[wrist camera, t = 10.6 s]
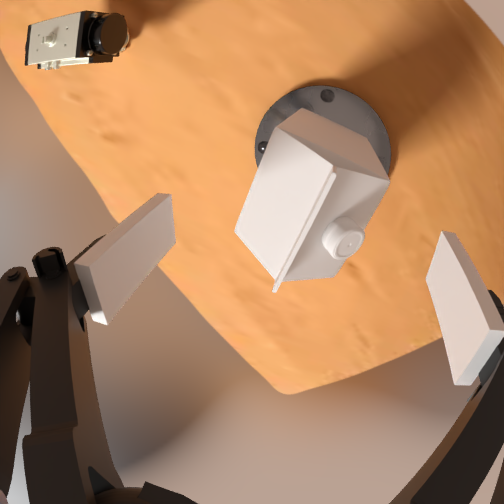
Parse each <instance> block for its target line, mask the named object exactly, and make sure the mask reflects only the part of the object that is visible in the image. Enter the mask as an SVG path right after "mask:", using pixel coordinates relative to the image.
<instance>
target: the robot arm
mask: <svg viewBox="0 0 504 504" xmlns="http://www.w3.org/2000/svg"><path fill="white" fill-rule="evenodd" d="M175 243H176V239H175V229H174V219H173V208H172V197H171V194H162V193H158V194H156V195H155V196H154V197H152V198H151V199H150V200H148V201H147V202H146V203H145V204H143V205H142V206H141V207H140V208H138V209H137V210H136V211H134V212H133V213H132V214H131V215H130V216H128V217H127V218H126V219H125V220H123V221H122V222H121V223H120V224H118V225H117V226H116V227H115V228H114V229H112V230H111V231H110V232H109V233H108V234H107V235H104V236H102V237H100V238H98V239H96V240H95V241H93V242H92V243H91V244H90V245H89V247H86V248H85V249H84V250H83V252H81V253H79V255H77V256H76V257H75V258H74V259H73V260H72V261H70V262H69V263H68V264H67V265H66V262H65V259H64V256H63V252H62V249H60V248H59V247H50V248H46V249H43V250H41V251H40V252H38V253H37V254H36V255H35V256H34V257H33V259H32V262H33V265H34V268H35V270H36V273H37V276H38V277H29V276H28V273H27V270H26V268H24V267H13V268H12V269H9V270H8V271H7V272H6V273H4V275H3V276H2V277H1V279H0V504H8V502H7V499H6V498H7V495H8V492H9V488H10V484H11V480H12V474H13V467H14V460H15V452H16V446H17V439H18V433H19V427H20V422H21V417H22V412H23V407H24V403H25V398H26V394H27V390H28V385H29V381H30V406H31V407H30V408H31V427H32V429H31V434H30V435H25V436H24V438H23V443H22V449H23V459H24V469H25V476H26V484H27V490H28V496H29V502H30V504H197V503H196V502H194V501H192V500H191V499H189V498H187V497H185V496H184V495H181V494H178V493H175V492H173V491H170V490H167V489H164V488H161V487H158V486H156V485H153V484H151V483H148V482H145V483H144V486H143V488H139V487H124V485H123V483H122V481H121V479H120V477H119V475H118V473H117V471H116V470H115V467H114V465H113V462H112V458H111V454H110V451H109V447H108V443H107V439H106V435H105V431H104V427H103V422H102V418H101V413H100V408H99V403H98V399H97V393H96V388H95V382H94V376H93V370H92V363H91V356H90V349H89V341H88V332H87V323H86V320H85V317H84V315H85V313H86V312H87V311H88V310H90V313H91V316H92V318H93V321H96V322H99V323H102V324H105V325H108V324H109V323H110V322H111V320H112V319H113V318H114V317H115V315H116V314H117V313H118V312H119V310H120V309H121V308H122V307H123V305H124V304H125V303H126V302H127V300H128V299H129V298H130V297H131V295H132V294H133V293H134V292H135V291H136V289H137V288H138V287H139V286H140V284H141V283H142V282H143V281H144V280H145V278H146V277H147V276H148V274H149V273H150V272H151V271H152V270H153V269H154V268H155V266H156V265H157V264H158V263H159V262H160V260H161V259H162V258H163V257H164V256H165V255H166V253H167V252H168V251H169V250H170V249H171V248H172V246H173V245H174V244H175ZM426 282H427V285H428V288H429V291H430V294H431V297H432V300H433V304H434V307H435V310H436V314H437V317H438V321H439V324H440V328H441V331H442V335H443V339H444V343H445V347H446V351H447V355H448V359H449V363H450V368H451V372H452V377H453V382H454V385H471V384H472V383H473V381H474V380H475V379H476V377H477V376H478V375H479V377H480V382H481V383H480V385H479V386H478V387H477V389H476V390H475V391H474V392H473V393H472V395H471V396H470V397H469V399H468V400H467V401H468V403H467V405H466V406H465V408H464V410H463V411H462V413H461V414H460V416H459V417H458V419H457V420H456V422H455V423H454V425H453V426H452V428H451V429H450V431H449V432H448V434H447V435H446V436H445V438H444V439H443V440H442V442H441V443H440V444H439V446H438V447H437V448H436V450H435V451H434V452H433V454H432V455H431V456H430V458H429V459H428V460H427V461H426V463H425V464H424V465H423V466H422V467H421V469H420V470H419V471H418V472H417V473H416V475H415V476H414V477H413V478H412V479H411V481H410V482H409V483H408V484H407V485H406V486H405V487H404V489H402V491H401V492H400V493H399V494H398V495H397V496H396V497H395V498H394V499H393V500H392V501H391V502H390V503H389V504H469V503H470V502H471V500H472V498H473V497H474V495H475V494H476V492H477V491H478V489H479V487H480V486H481V484H482V482H483V480H484V479H485V477H486V476H487V474H488V472H489V470H490V468H491V467H492V465H493V463H494V461H495V459H496V457H497V455H498V453H499V451H500V450H501V448H502V445H503V443H504V309H503V308H504V307H503V305H502V303H501V301H500V299H499V298H498V297H497V295H496V294H495V293H494V292H493V291H492V290H487V288H486V286H485V284H484V282H483V280H482V278H481V277H480V275H479V273H478V271H477V269H476V267H475V266H474V264H473V262H472V260H471V259H470V257H469V255H468V254H467V252H466V250H465V248H464V247H463V245H462V243H461V242H460V240H459V239H458V237H457V235H456V234H455V233H452V232H447V231H441V234H440V237H439V241H438V244H437V247H436V250H435V253H434V256H433V259H432V262H431V265H430V268H429V271H428V274H427V276H426ZM16 316H17V318H18V321H17V322H16ZM490 504H504V459H503V463H502V467H501V471H500V474H499V478H498V481H497V484H496V487H495V490H494V493H493V496H492V499H491V502H490Z"/></svg>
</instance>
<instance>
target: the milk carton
mask: <svg viewBox="0 0 504 504" xmlns="http://www.w3.org/2000/svg"><path fill="white" fill-rule="evenodd" d="M389 184H390V180H389V177H388V175H387V174H386V172H385V170H384V168H383V166H382V164H381V162H380V160H379V159H378V157H377V155H376V153H375V151H374V150H373V148H372V146H371V144H370V142H369V141H368V139H367V138H366V137H364V136H362V135H360V134H358V133H356V132H354V131H352V130H350V129H348V128H346V127H344V126H342V125H340V124H338V123H335V122H333V121H331V120H329V119H327V118H325V117H322V116H320V115H318V114H316V113H313V112H311V111H309V110H306V109H304V108H301V109H299V110H298V111H297V112H295V113H294V114H293V115H291V116H290V117H288V118H287V119H286V120H284V121H283V122H282V123H280V124H279V125H278V126H276V127H275V128H274V130H273V132H272V135H271V137H270V140H269V142H268V145H267V147H266V150H265V152H264V155H263V157H262V160H261V162H260V165H259V167H258V170H257V172H256V175H255V178H254V180H253V183H252V185H251V188H250V190H249V193H248V196H247V198H246V201H245V203H244V206H243V208H242V211H241V214H240V216H239V219H238V222H237V224H236V227H235V233H236V234H237V235H238V237H239V238H240V239H241V240H242V241H243V243H244V244H245V245H246V246H247V247H248V248H249V250H250V251H251V252H252V253H253V254H254V256H255V257H256V258H257V259H258V260H259V261H260V263H261V264H262V265H263V266H264V267H265V269H266V270H267V271H268V272H269V273H270V275H271V276H272V277H273V278H274V279H275V283H274V286H273V289H272V292H274V293H275V292H276V291H277V290H278V288H279V286H280V284H281V282H284V281H296V280H308V279H320V278H331V277H334V276H335V275H336V274H337V273H338V271H339V270H340V268H341V267H342V265H343V264H344V262H345V261H346V259H347V258H348V257H350V256H352V255H353V254H354V253H355V252H356V251H357V250H358V249H359V248H360V246H361V245H362V243H363V241H364V238H365V232H364V229H365V227H366V226H367V224H368V222H369V221H370V219H371V217H372V215H373V214H374V212H375V210H376V208H377V207H378V205H379V203H380V201H381V200H382V198H383V196H384V194H385V192H386V190H387V188H388V186H389Z"/></svg>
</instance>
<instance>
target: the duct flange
mask: <svg viewBox="0 0 504 504" xmlns="http://www.w3.org/2000/svg"><path fill="white" fill-rule="evenodd" d="M301 108H304V109H306V110H309V111H311V112H313V113H316V114H318V115H320V116H322V117H325V118H327V119H329V120H331V121H333V122H335V123H338V124H340V125H342V126H344V127H346V128H348V129H350V130H352V131H354V132H356V133H358V134H360V135H362V136H364V137H366V138H367V139H368V141H369V142H370V144H371V146H372V148H373V150H374V151H375V153H376V155H377V157H378V159H379V160H380V162H381V164H382V166H383V168H384V170H385V172H386V174H387V175H388V172H389V168H390V162H391V146H390V141H389V137H388V134H387V131H386V128H385V126H384V124H383V122H382V120H381V119H380V117H379V116H378V114H377V113H376V112H375V111H374V110H373V109H372V107H371V106H370V105H368V104H367V103H366V102H365V101H364V100H362V99H361V98H359V97H358V96H356V95H354V94H352V93H350V92H348V91H346V90H343V89H340V88H336V87H331V86H309V87H305V88H300V89H298V90H295V91H292V92H290V93H288V94H287V95H285V96H283V97H282V98H280V99H279V100H278V101H276V102H275V103H274V104H273V105H272V106H271V107H270V109H269V110H268V111H267V112H266V114H265V115H264V117H263V119H262V121H261V123H260V125H259V128H258V130H257V135H256V139H255V158H256V164H257V167H259V165H260V162H261V160H262V157H263V155H264V152H265V150H266V147H267V145H268V142H269V140H270V137H271V135H272V132H273V130H274V128H275V127H276V126H278V125H279V124H280V123H282V122H283V121H284V120H286V119H287V118H288V117H290V116H291V115H293V114H294V113H295V112H297V111H298V110H299V109H301Z"/></svg>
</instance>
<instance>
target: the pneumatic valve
mask: <svg viewBox="0 0 504 504" xmlns="http://www.w3.org/2000/svg"><path fill="white" fill-rule="evenodd" d="M128 42H129V32H128V28H127V24H126V21H125V19H124V16H122V15H120V14H118V13H111V14H109V13H102V12H94V11H82V12H77V13H73V14H68V15H64V16H60V17H56V18H53V19H49V20H45V21H42V22H38V23H35V24H32V25H29V26H28V33H27V42H26V46H25V51H26V54H25V66H27V65H33V64H38V69H42V68H45V70H50V69H52V67H53V69H58V68H61V66H66V65H76V64H88V63H103V62H112V60H113V57H118V56H119V52H123V51H125V50H126V47H125V46H126V45H127V44H128Z"/></svg>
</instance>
